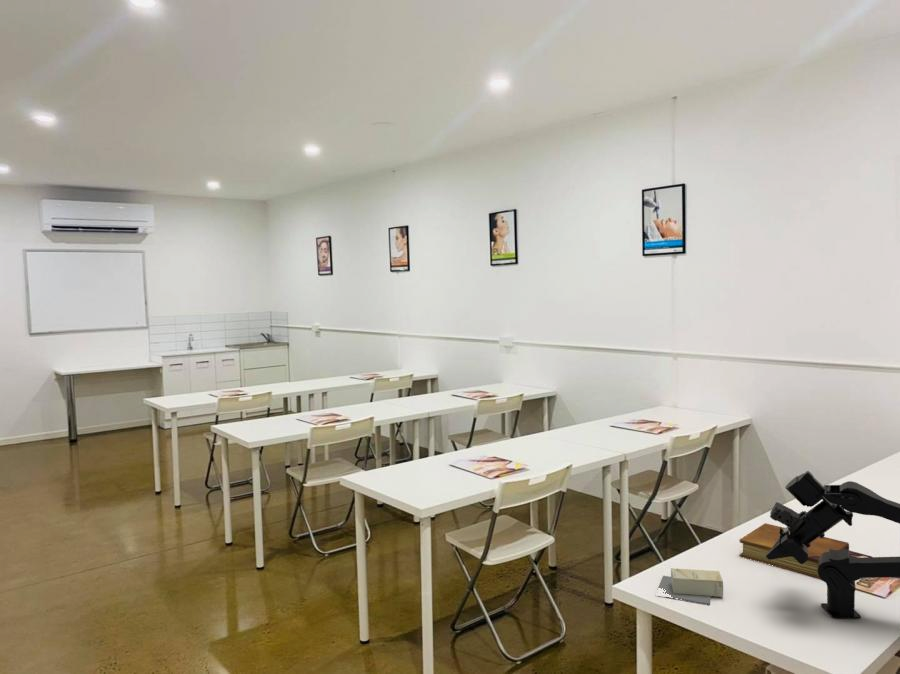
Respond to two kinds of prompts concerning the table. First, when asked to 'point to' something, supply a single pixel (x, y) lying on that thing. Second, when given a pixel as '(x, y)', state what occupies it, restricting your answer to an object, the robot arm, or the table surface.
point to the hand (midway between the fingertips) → (767, 557)
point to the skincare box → (696, 582)
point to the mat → (667, 586)
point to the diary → (765, 539)
